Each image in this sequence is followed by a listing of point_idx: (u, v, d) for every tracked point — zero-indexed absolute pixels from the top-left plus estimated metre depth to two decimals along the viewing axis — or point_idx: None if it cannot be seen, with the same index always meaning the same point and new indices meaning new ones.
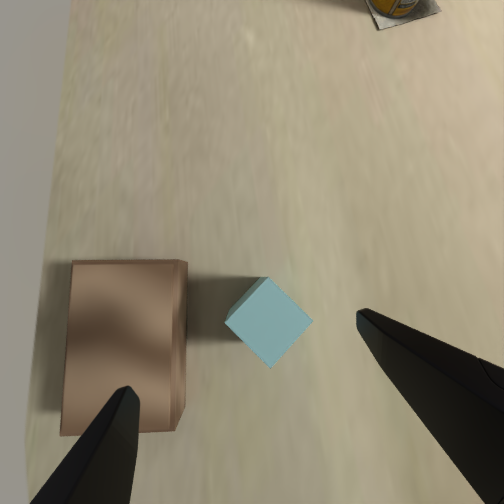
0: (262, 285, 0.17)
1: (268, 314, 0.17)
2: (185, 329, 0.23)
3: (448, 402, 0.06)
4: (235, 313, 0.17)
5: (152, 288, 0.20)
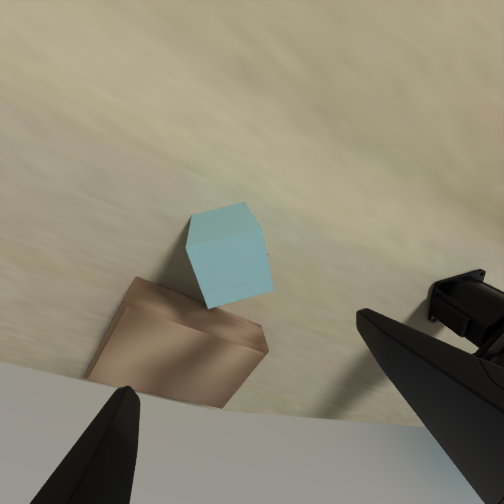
0: (191, 259, 0.14)
1: (226, 268, 0.14)
2: (202, 305, 0.23)
3: (448, 402, 0.06)
4: (205, 296, 0.15)
5: (144, 332, 0.19)
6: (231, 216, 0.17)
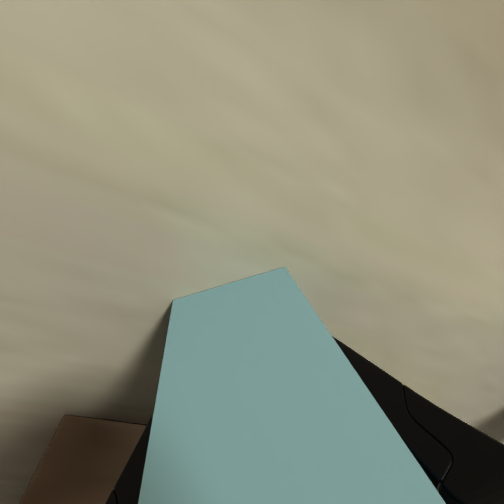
0: None
1: None
2: None
3: None
4: None
5: None
6: (271, 333, 0.07)
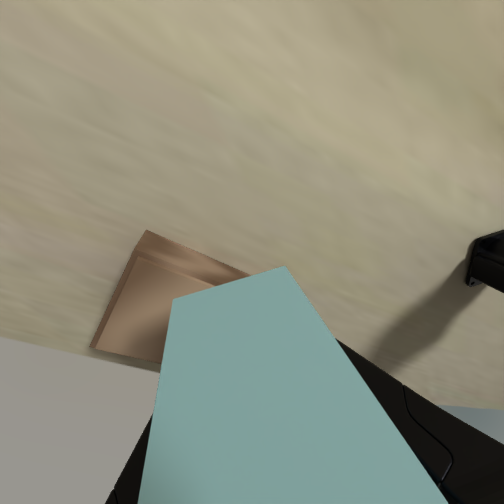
0: None
1: None
2: (222, 264, 0.20)
3: None
4: None
5: (159, 289, 0.16)
6: (272, 332, 0.07)
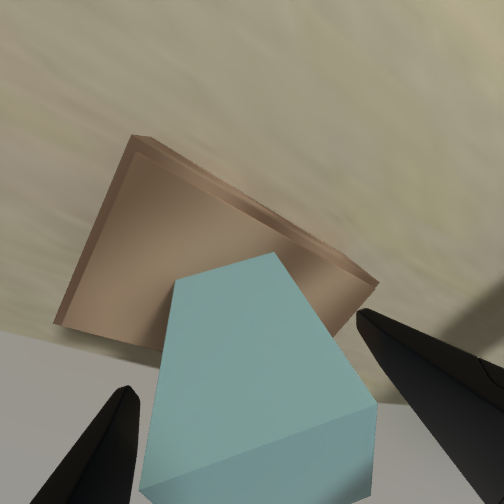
0: None
1: (263, 494, 0.05)
2: (263, 206, 0.13)
3: (448, 402, 0.06)
4: None
5: (174, 220, 0.09)
6: (259, 302, 0.08)
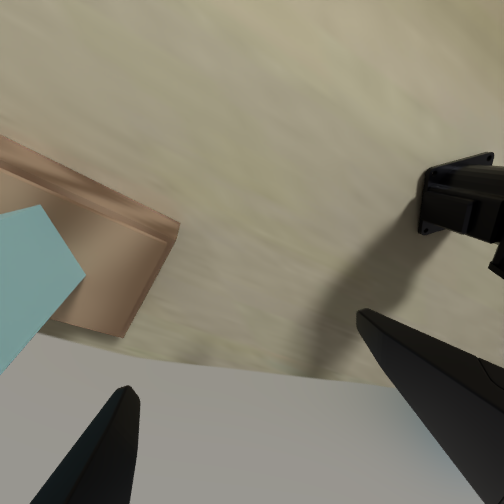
0: None
1: None
2: (73, 173, 0.15)
3: (448, 402, 0.06)
4: None
5: None
6: None
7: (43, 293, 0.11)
